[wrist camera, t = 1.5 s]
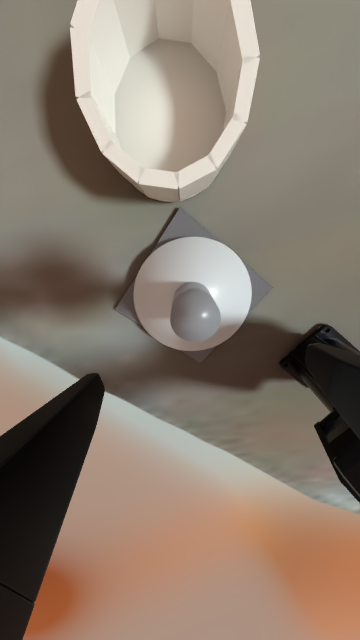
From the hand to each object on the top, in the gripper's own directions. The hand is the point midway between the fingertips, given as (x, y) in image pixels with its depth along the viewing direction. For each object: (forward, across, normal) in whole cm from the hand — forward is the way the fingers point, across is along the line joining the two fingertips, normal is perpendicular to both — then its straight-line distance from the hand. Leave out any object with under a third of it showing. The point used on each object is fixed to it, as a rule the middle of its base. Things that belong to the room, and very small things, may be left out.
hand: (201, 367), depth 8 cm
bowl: (+11, 0, -12) cm, 17 cm away
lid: (+11, 0, 0) cm, 11 cm away
